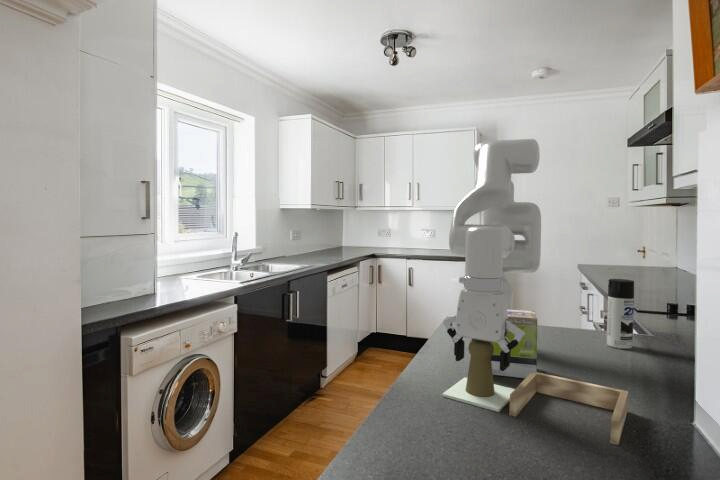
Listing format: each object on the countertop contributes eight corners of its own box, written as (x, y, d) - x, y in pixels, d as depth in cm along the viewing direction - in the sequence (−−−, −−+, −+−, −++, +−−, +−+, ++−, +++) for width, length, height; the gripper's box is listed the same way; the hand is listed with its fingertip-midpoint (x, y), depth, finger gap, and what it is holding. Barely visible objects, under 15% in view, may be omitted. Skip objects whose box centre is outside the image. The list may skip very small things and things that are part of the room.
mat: (442, 396, 90) (442, 393, 90) (464, 379, 100) (464, 377, 100) (498, 412, 83) (499, 409, 83) (517, 392, 93) (517, 389, 93)
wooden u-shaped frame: (509, 415, 82) (509, 394, 82) (531, 388, 95) (532, 371, 95) (618, 445, 71) (619, 421, 71) (627, 411, 84) (628, 391, 84)
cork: (496, 398, 88) (498, 345, 88) (466, 395, 89) (467, 343, 89) (492, 387, 94) (493, 337, 94) (464, 384, 95) (465, 336, 95)
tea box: (534, 367, 109) (536, 310, 108) (536, 381, 99) (538, 318, 99) (473, 360, 114) (474, 305, 113) (470, 373, 104) (471, 313, 104)
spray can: (622, 350, 124) (625, 282, 123) (600, 344, 130) (603, 278, 129) (637, 348, 126) (640, 280, 125) (615, 342, 132) (618, 277, 131)
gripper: (437, 282, 93) (436, 360, 93) (519, 291, 82) (517, 379, 83) (452, 279, 99) (450, 352, 100) (530, 286, 88) (528, 368, 89)
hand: (481, 364), depth 91 cm, fingers open, 9 cm apart
